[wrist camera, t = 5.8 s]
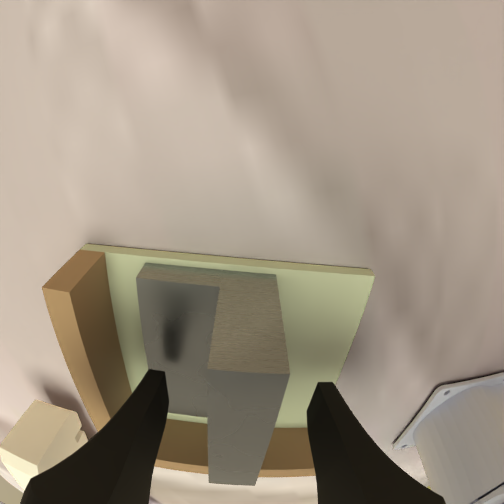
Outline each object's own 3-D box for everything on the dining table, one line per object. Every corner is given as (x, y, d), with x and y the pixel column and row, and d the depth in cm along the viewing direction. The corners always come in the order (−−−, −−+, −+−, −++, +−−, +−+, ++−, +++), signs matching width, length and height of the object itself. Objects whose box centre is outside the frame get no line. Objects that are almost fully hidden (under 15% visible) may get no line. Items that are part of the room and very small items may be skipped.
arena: (370, 269, 12) (405, 320, 9) (309, 429, 17) (316, 475, 14) (86, 243, 12) (41, 287, 8) (126, 412, 17) (112, 456, 13)
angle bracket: (253, 403, 15) (254, 485, 10) (161, 393, 15) (142, 472, 10) (276, 274, 12) (289, 374, 7) (145, 262, 11) (93, 350, 7)
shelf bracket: (120, 498, 27) (99, 567, 15) (63, 352, 22) (-16, 444, 9) (158, 506, 28) (143, 580, 15) (117, 362, 22) (48, 478, 10)
